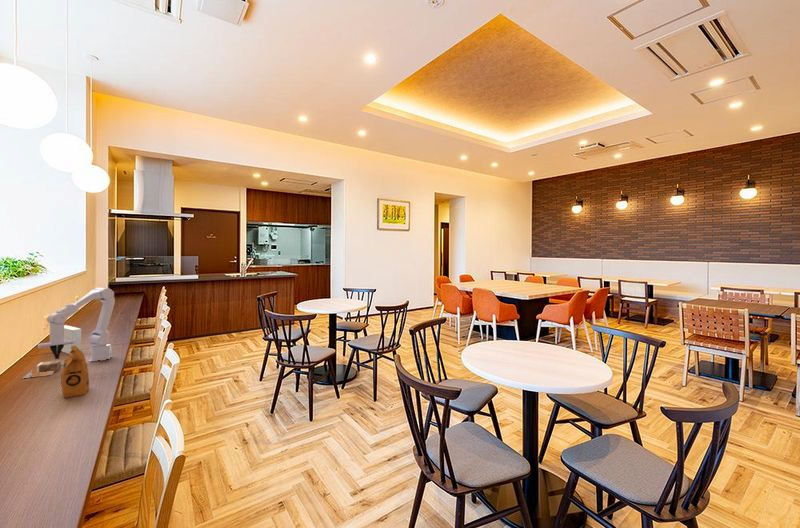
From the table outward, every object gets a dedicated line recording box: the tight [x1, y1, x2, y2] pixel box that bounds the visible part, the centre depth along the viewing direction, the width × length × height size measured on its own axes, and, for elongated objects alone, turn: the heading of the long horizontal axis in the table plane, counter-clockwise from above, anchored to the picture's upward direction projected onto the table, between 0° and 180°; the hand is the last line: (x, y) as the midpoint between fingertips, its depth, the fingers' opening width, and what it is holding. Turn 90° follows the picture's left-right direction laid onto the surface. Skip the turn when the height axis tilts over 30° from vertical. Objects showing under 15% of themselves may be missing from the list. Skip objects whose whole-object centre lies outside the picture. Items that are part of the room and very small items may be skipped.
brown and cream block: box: [36, 359, 62, 373], centre depth 189 cm, size 4×6×8 cm
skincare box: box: [61, 324, 82, 355], centre depth 223 cm, size 21×6×16 cm, turn 65°
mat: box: [21, 363, 63, 380], centre depth 188 cm, size 11×20×1 cm, turn 32°
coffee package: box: [60, 345, 90, 399], centre depth 162 cm, size 10×12×22 cm
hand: (57, 358), depth 190 cm, fingers closed
